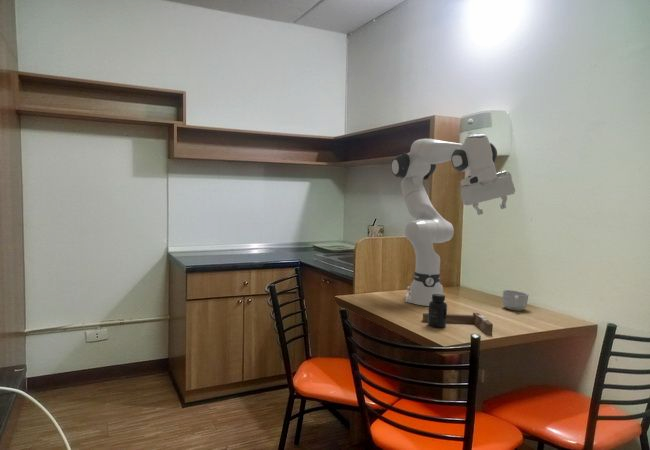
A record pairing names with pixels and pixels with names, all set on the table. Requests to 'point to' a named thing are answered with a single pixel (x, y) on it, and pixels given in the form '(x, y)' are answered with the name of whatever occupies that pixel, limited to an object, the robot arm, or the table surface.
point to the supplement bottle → (437, 311)
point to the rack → (468, 321)
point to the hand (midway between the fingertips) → (492, 211)
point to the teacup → (514, 300)
